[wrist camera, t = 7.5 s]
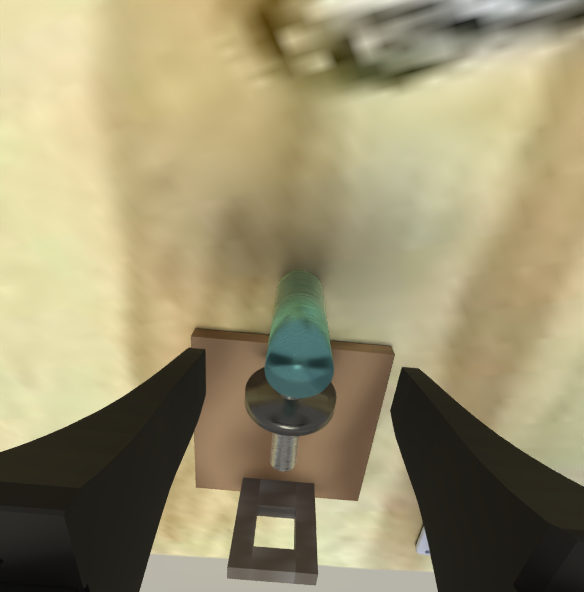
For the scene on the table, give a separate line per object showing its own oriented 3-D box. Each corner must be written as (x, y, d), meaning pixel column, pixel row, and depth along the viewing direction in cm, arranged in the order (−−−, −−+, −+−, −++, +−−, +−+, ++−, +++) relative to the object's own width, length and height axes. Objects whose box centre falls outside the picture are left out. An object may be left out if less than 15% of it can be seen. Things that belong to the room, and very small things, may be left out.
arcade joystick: (346, 274, 19) (371, 347, 12) (321, 426, 24) (329, 541, 17) (257, 266, 19) (233, 334, 12) (249, 420, 24) (228, 533, 17)
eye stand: (391, 346, 23) (427, 428, 16) (355, 489, 28) (372, 593, 22) (195, 328, 23) (152, 404, 16) (199, 476, 28) (168, 577, 22)
